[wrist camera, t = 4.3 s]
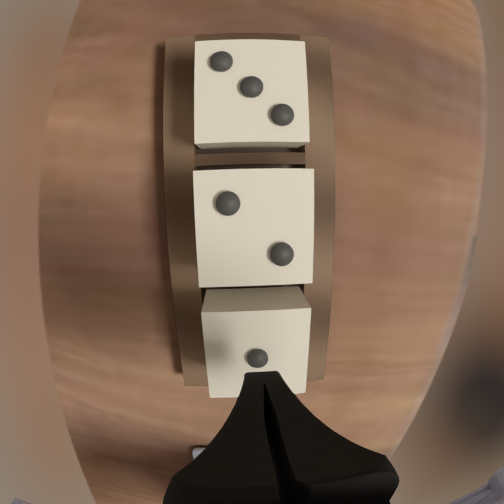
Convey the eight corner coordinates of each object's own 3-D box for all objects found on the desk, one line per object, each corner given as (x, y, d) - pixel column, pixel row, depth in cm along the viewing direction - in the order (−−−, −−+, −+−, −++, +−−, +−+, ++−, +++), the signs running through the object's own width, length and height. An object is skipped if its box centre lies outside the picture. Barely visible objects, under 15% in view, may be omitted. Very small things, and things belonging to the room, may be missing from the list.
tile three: (296, 147, 16) (310, 141, 13) (201, 149, 16) (193, 143, 13) (293, 62, 15) (305, 39, 12) (201, 62, 15) (194, 39, 12)
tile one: (295, 362, 18) (306, 394, 15) (212, 366, 18) (209, 399, 15) (298, 286, 17) (312, 309, 14) (206, 289, 17) (200, 314, 14)
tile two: (299, 264, 17) (313, 284, 14) (205, 268, 17) (198, 288, 14) (299, 169, 16) (315, 168, 13) (200, 171, 15) (192, 170, 12)
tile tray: (319, 369, 20) (323, 379, 19) (187, 374, 20) (185, 385, 18) (322, 45, 15) (328, 37, 14) (169, 46, 15) (165, 38, 14)
